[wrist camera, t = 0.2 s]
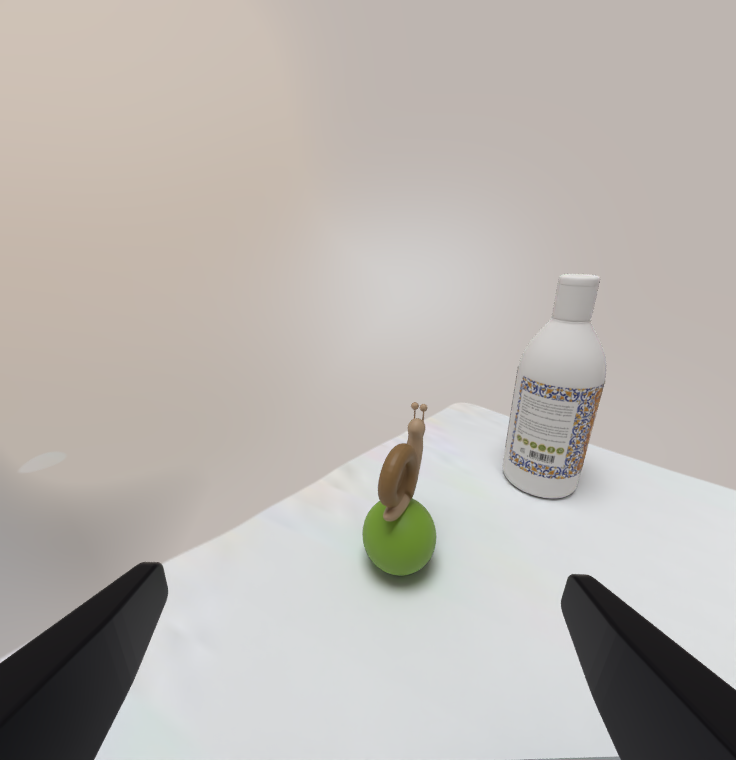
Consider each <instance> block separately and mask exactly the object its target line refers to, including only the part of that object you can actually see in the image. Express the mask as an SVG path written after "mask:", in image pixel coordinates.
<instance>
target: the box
mask: <svg viewBox="0 0 736 760" xmlns="http://www.w3.org/2000/svg"><path fill="white" fill-rule="evenodd" d="M526 760H621V759H620V757H591V758H559V759H526Z"/></svg>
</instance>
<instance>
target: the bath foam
mask: <svg viewBox="0 0 736 760" xmlns="http://www.w3.org/2000/svg"><path fill="white" fill-rule="evenodd" d="M599 283H600V277H599V276H594V275H586V274H564V275H561V276H560V277H559V281H558V286H557V291H556V296H555V302H554V308H553V313H552V318H551V319H550V321H548V322H547V323H546V325H545V326H544V327H543V328H542V329H541V330H540V331H539V332H538V333H537V334H536V335H535V336H534V338H533V339H532V340H531V341H530V342H529V344H528V345H527V347H526V348H525V350H524V353H523V354H522V357H521V360H520V363H519V366H518V370H517V376H516V383H515V389H514V396H513V402H512V409H511V414H510V421H509V427H508V433H507V440H506V446H505V447H506V448H505V454H504V461H503V471H504V474H505V476H506V477H507V479H508V480H509V481H510V482H511V483H512V484H513V485H514V486H516V487H517V488H519V489H520V490H522V491H524V492H526V493H529V494H531V495H534V496H538V497H543V498H562V497H565V496H568V495H570V494H571V493H573V492H574V491H575V489H576V487H577V484H578V481H579V477H580V473H581V470H582V467H583V463H584V459H585V455H586V451H587V448H588V444H589V440H590V436H591V432H592V429H593V425H594V421H595V417H596V414H597V410H598V406H599V402H600V398H601V395H602V391H603V387H604V383H605V377H606V359H605V354H604V351H603V348H602V345H601V343H600V340H599V338H598V336H597V334H596V332H595V330H594V328H593V326H592V324H591V321H590V319H591V317H592V313H593V309H594V304H595V300H596V296H597V291H598V287H599Z"/></svg>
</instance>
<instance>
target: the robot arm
mask: <svg viewBox="0 0 736 760" xmlns="http://www.w3.org/2000/svg"><path fill="white" fill-rule="evenodd" d="M167 596H168V586H167V582H166V577H165V573H164V568H163V565H162V564H161V563H159V562H142V563H140V564H138V565H136V566H135V567H134V568H132V569H131V570H129V571H128V572H127V573H125V574H124V575H122V576H121V577H120V578H118V579H117V580H115V581H114V582H113V583H111V584H110V585H108V586H107V587H106V588H104V589H103V590H101V591H100V592H99V593H98V594H96V595H95V596H93V597H92V598H90V599H89V600H88V601H86V602H85V603H83V604H82V605H81V606H79V607H78V608H77V609H75V610H74V611H72V612H71V613H70V614H68V615H67V616H65V617H64V618H62V619H61V620H60V621H58V622H57V623H56V624H54V625H53V626H51V627H50V628H49V629H47V630H46V631H44V632H43V633H42V634H40V635H39V636H37V637H36V638H35V639H33V640H32V641H30V642H29V643H28V644H26V645H25V646H23V647H22V648H21V649H19V650H18V651H16V652H15V653H14V654H12V655H11V656H10V657H8V658H7V659H5V660H4V661H3V662H1V663H0V760H94V759H95V757H96V755H97V753H98V751H99V749H100V747H101V745H102V743H103V741H104V739H105V737H106V735H107V733H108V731H109V729H110V727H111V725H112V723H113V721H114V719H115V717H116V715H117V713H118V711H119V709H120V707H121V705H122V704H123V702H124V700H125V698H126V696H127V693H128V691H129V689H130V687H131V685H132V683H133V681H134V679H135V676H136V674H137V672H138V669H139V667H140V664H141V662H142V660H143V657H144V655H145V652H146V650H147V647H148V645H149V642H150V640H151V637H152V635H153V632H154V630H155V628H156V625H157V623H158V620H159V618H160V615H161V613H162V610H163V608H164V605H165V603H166V600H167ZM561 609H562V613H563V616H564V619H565V621H566V624H567V627H568V630H569V633H570V636H571V638H572V641H573V644H574V647H575V650H576V652H577V655H578V658H579V661H580V664H581V667H582V669H583V672H584V675H585V678H586V681H587V683H588V686H589V689H590V691H591V694H592V696H593V699H594V701H595V703H596V706H597V708H598V710H599V713H600V715H601V717H602V719H603V722H604V724H605V726H606V728H607V730H608V733H609V735H610V737H611V739H612V742H613V744H614V746H615V748H616V750H617V753H618V755H619V757H620V759H621V760H736V690H735V689H734V688H732V687H731V686H730V685H729V684H727V683H726V682H725V681H724V680H722V679H721V678H720V677H719V676H717V675H716V674H715V673H713V672H712V671H711V670H710V669H708V668H707V667H706V666H705V665H703V664H702V663H701V662H700V661H698V660H697V659H696V658H694V657H693V656H692V655H691V654H689V653H688V652H687V651H686V650H684V649H683V648H682V647H681V646H679V645H678V644H677V643H676V642H674V641H673V640H672V639H670V638H669V637H668V636H667V635H665V634H664V633H663V632H662V631H660V630H659V629H658V628H657V627H655V626H654V625H653V624H651V623H650V622H649V621H648V620H646V619H645V618H644V617H643V616H641V615H640V614H639V613H638V612H636V611H635V610H634V609H633V608H631V607H630V606H629V605H627V604H626V603H625V602H624V601H622V600H621V599H620V598H619V597H617V596H616V595H615V594H614V593H612V592H611V591H610V590H608V589H607V588H606V587H605V586H603V585H602V584H601V583H600V582H598V581H597V580H596V579H595V578H593V577H592V576H590V575H584V574H572V575H570V576H569V577H568V579H567V582H566V585H565V589H564V592H563V595H562V599H561Z"/></svg>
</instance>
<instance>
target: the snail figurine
mask: <svg viewBox="0 0 736 760" xmlns="http://www.w3.org/2000/svg"><path fill="white" fill-rule="evenodd" d="M411 407H412V408H413V409H414V410H416V409H418V407H419V405H418V404H417V403H416V402H414V403H412V405H411ZM420 410H421V411H423V418H422V420H421V419H417V418H416V419H415V411H414V419H413V420H411V422H410V423H409V425H408V434H409V435H408V441H407V444H405V443H402V444H399V445H397V446H395V447H394V448H393V449H392V450H391V451H390V453H389V454H388V456H387V457H386V459H385V462H384V464H383V467H382V470H381V473H380V477H379V483H378V496H379V500H380V501H379V502H378V503H376V504H375V505H374V506H373V507H372V508H371V510H370V511H369V513H368V514H367V516H366V519H365V522H364V526H363V543H364V547H365V550H366V552H367V554H368V556H369V558H370V559H371V560H372V562H373V563H374V564H375V565H376V566H377V567H378V568H380V569H381V570H383V571H385V572H387V573H389V574H392V575H399V576H402V575H409V574H412V573H415V572H417V571H418V570H420V569H421V568H423V567H424V566H425V565H426V564H427V562H428V561H429V560H430V558H431V556H432V554H433V552H434V549H435V544H436V530H435V525H434V522H433V520H432V517H431V515H430V514H429V512H428V511H427V510H426V508H425V507H424V506H423V505H422V504H420V503H419V502H418V501H416V500H414V499H412V497H413V495H414V491H415V487H416V484H417V480H418V474H419V469H420V464H421V459H422V452H423V435H424V432H425V424H424V411H426V410H427V406H426V405H425V404H422V405H421V406H420Z"/></svg>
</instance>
